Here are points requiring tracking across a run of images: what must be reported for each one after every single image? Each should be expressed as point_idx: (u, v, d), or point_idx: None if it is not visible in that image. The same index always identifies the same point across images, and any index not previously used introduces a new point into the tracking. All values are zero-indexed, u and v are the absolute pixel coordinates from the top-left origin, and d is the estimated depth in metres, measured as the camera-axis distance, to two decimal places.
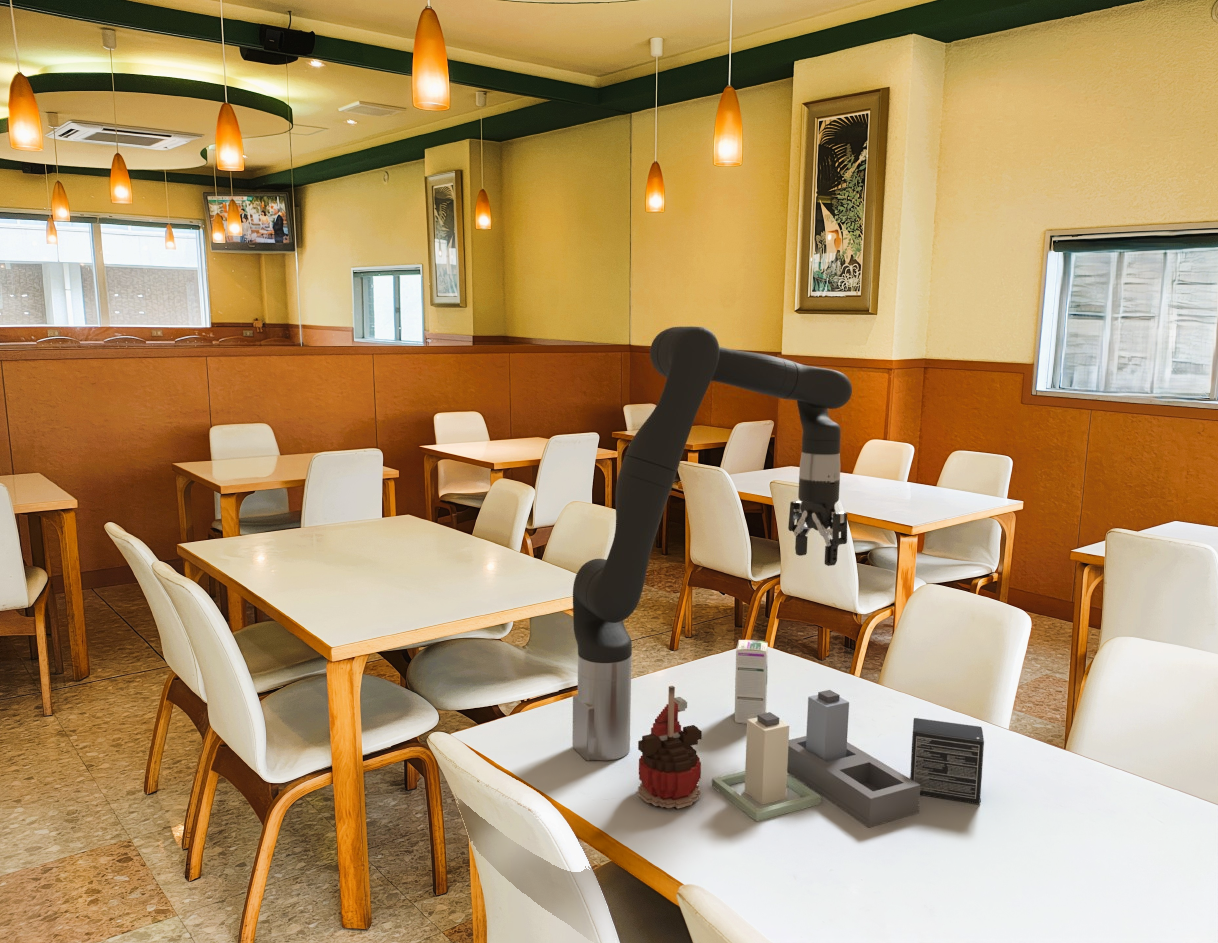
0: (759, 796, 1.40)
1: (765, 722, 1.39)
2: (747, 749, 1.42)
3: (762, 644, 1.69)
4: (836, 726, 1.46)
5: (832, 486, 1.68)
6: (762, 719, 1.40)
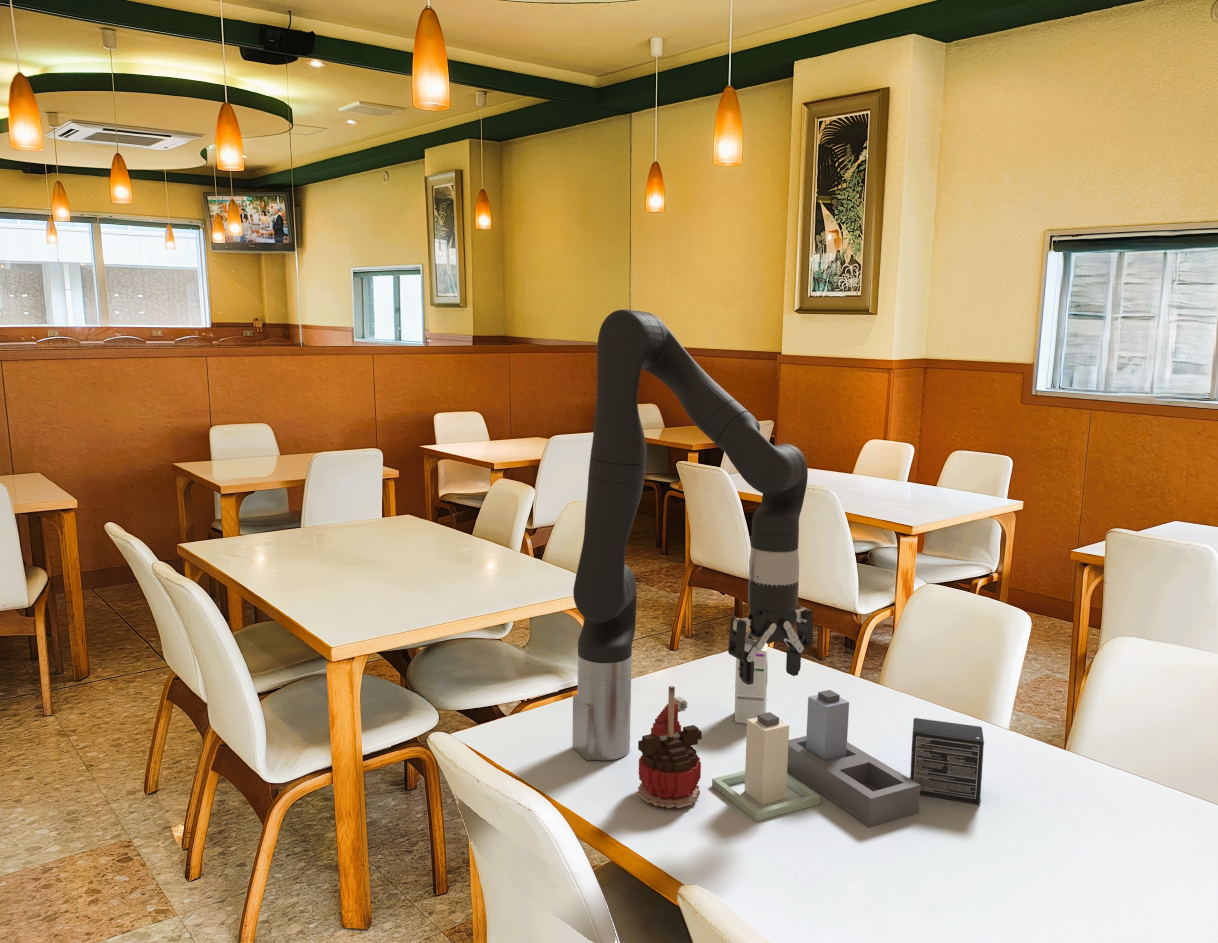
0: (759, 796, 1.40)
1: (765, 722, 1.39)
2: (747, 749, 1.42)
3: None
4: (836, 726, 1.46)
5: None
6: (762, 719, 1.40)
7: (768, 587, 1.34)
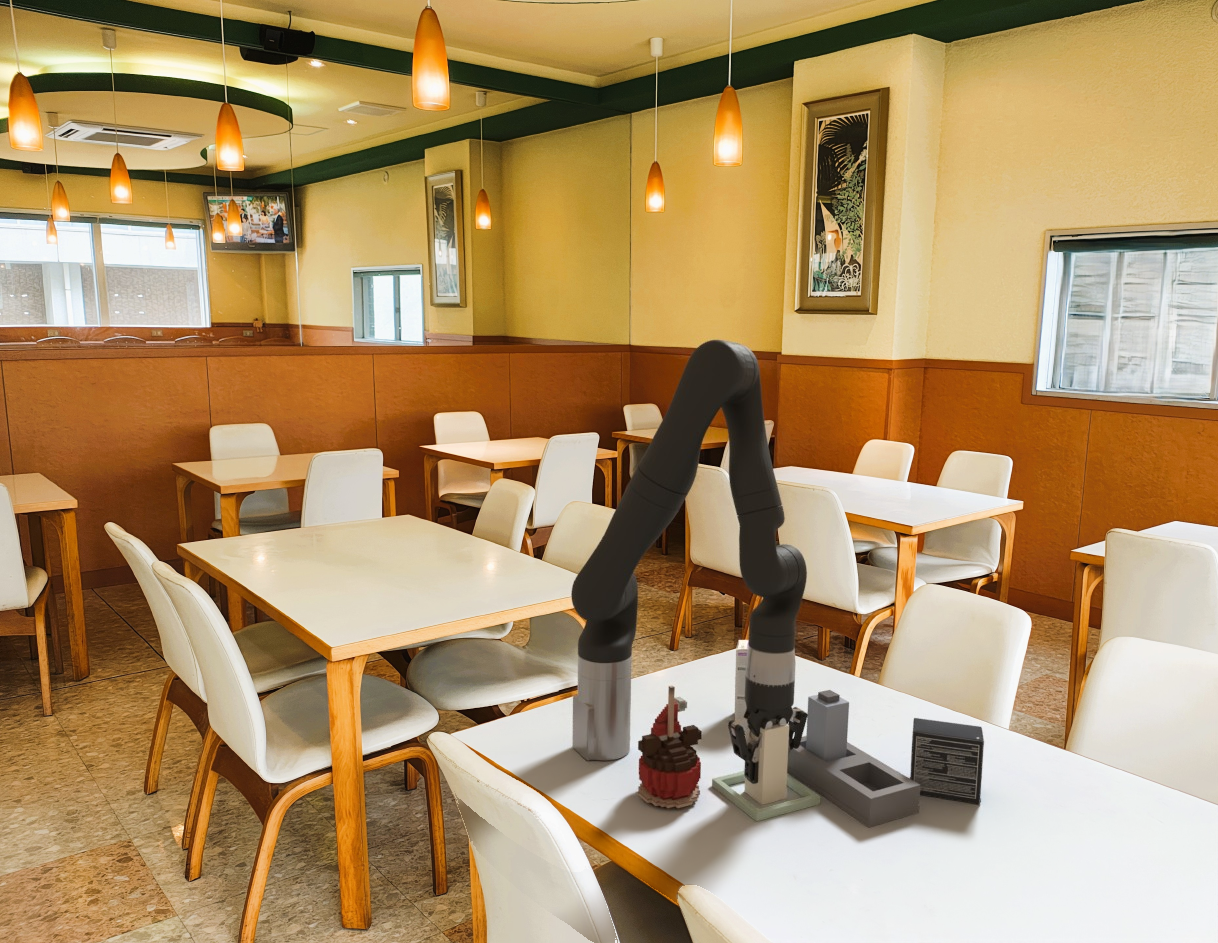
0: (759, 796, 1.40)
1: None
2: None
3: None
4: (836, 726, 1.46)
5: None
6: None
7: (764, 687, 1.36)
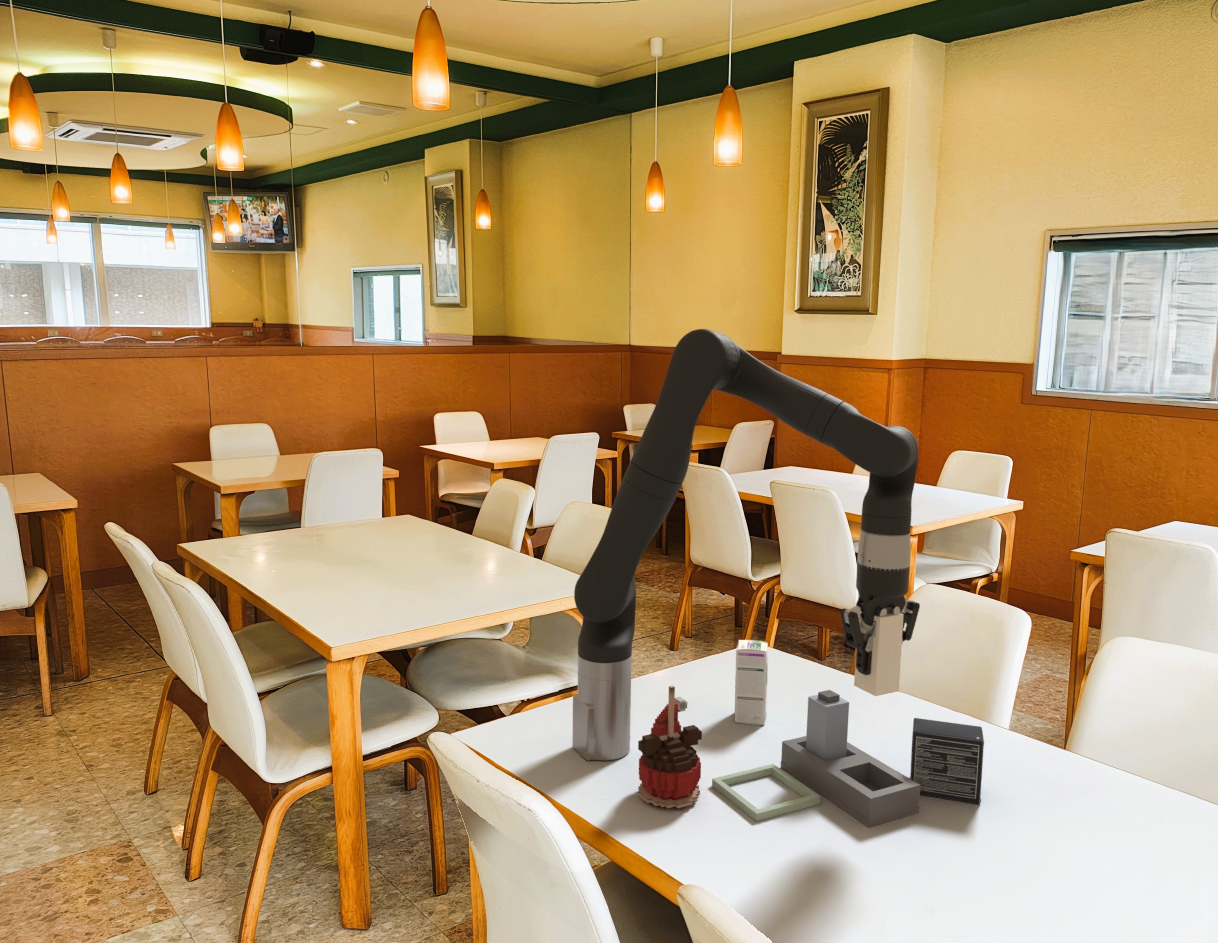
0: (872, 688, 1.34)
1: None
2: None
3: (762, 644, 1.69)
4: (836, 726, 1.46)
5: None
6: None
7: (881, 571, 1.31)
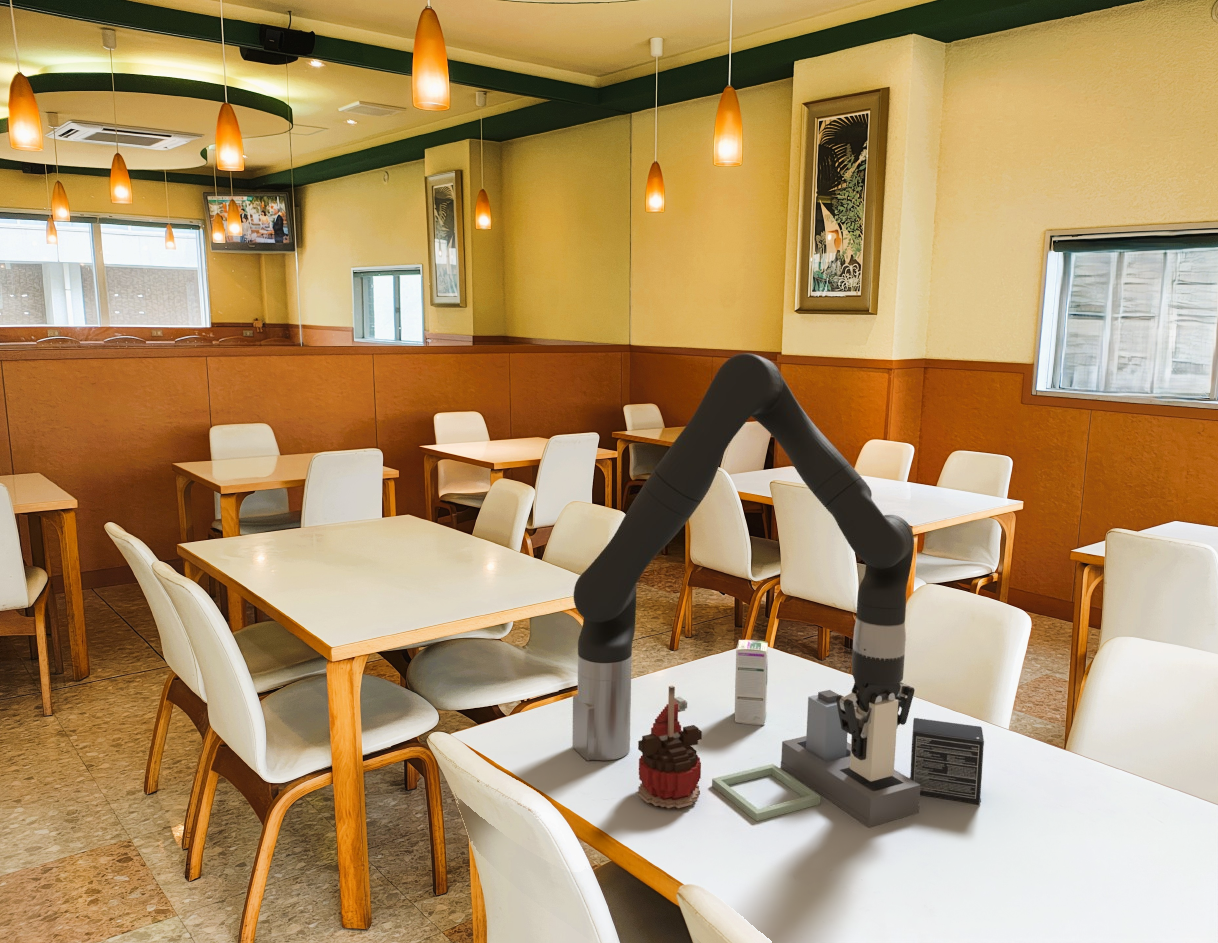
0: (868, 773, 1.36)
1: None
2: None
3: (763, 644, 1.69)
4: (836, 726, 1.46)
5: None
6: None
7: (876, 660, 1.33)
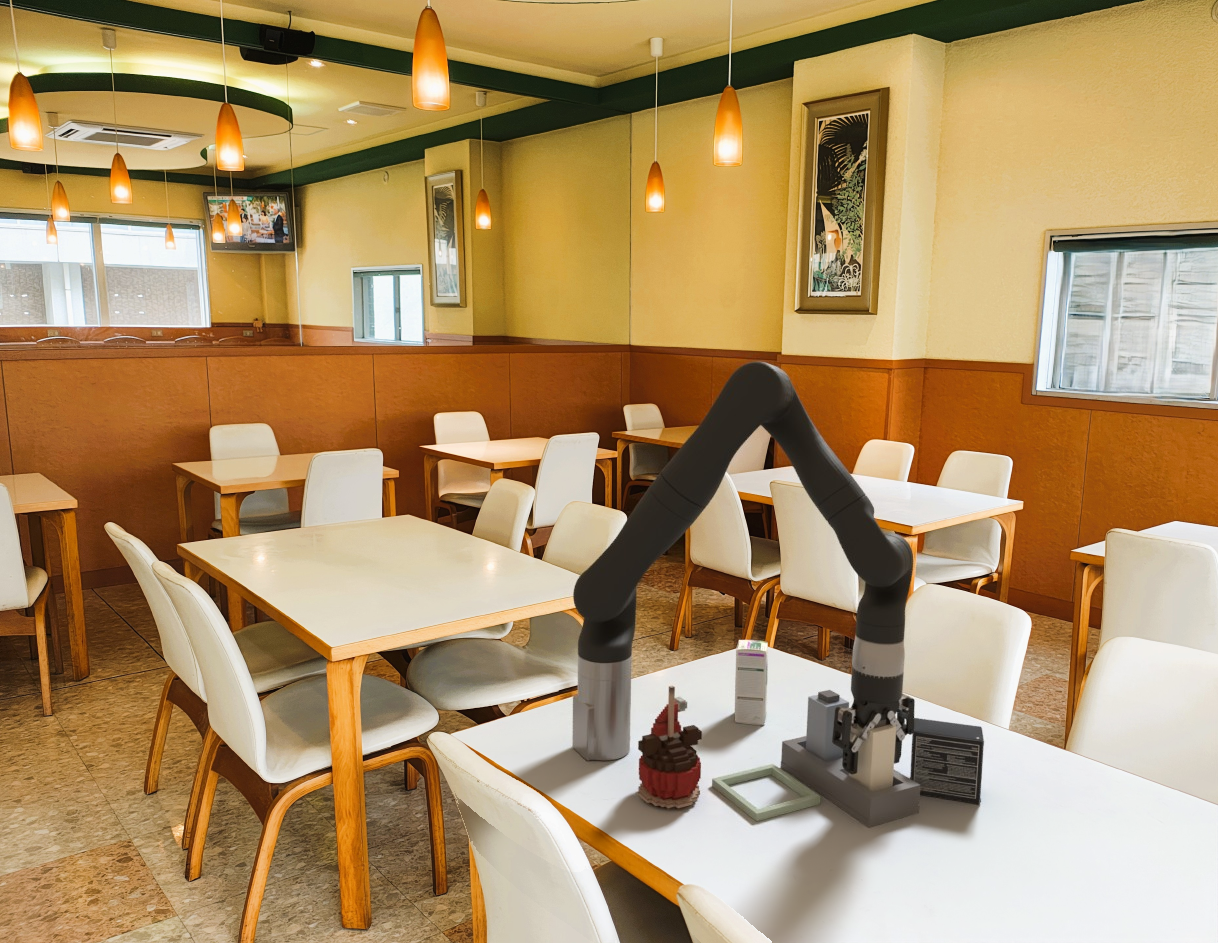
0: None
1: None
2: None
3: (762, 644, 1.69)
4: None
5: None
6: None
7: (875, 678, 1.33)
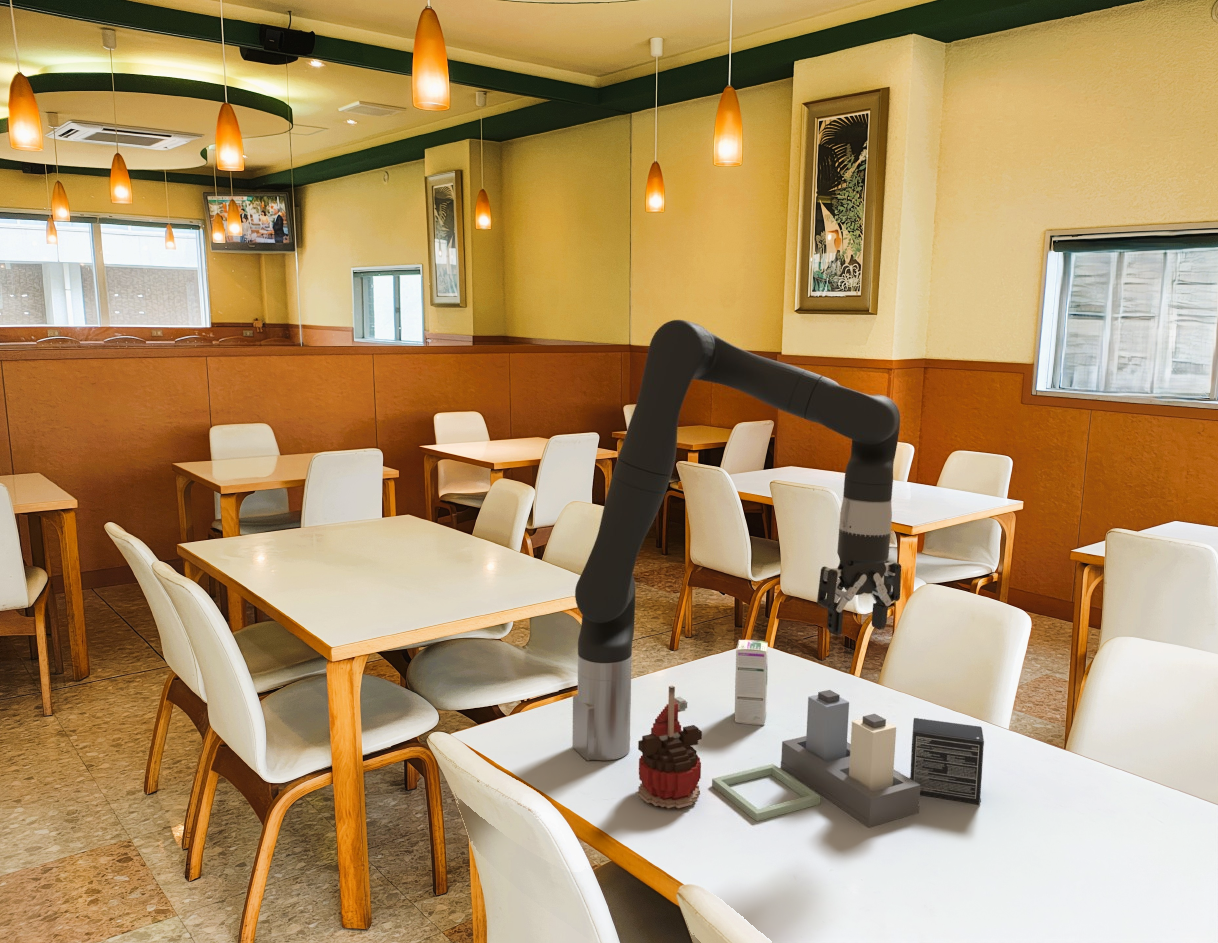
0: None
1: (872, 724, 1.37)
2: (851, 751, 1.39)
3: (762, 644, 1.69)
4: (836, 726, 1.46)
5: None
6: (868, 721, 1.37)
7: (861, 537, 1.33)
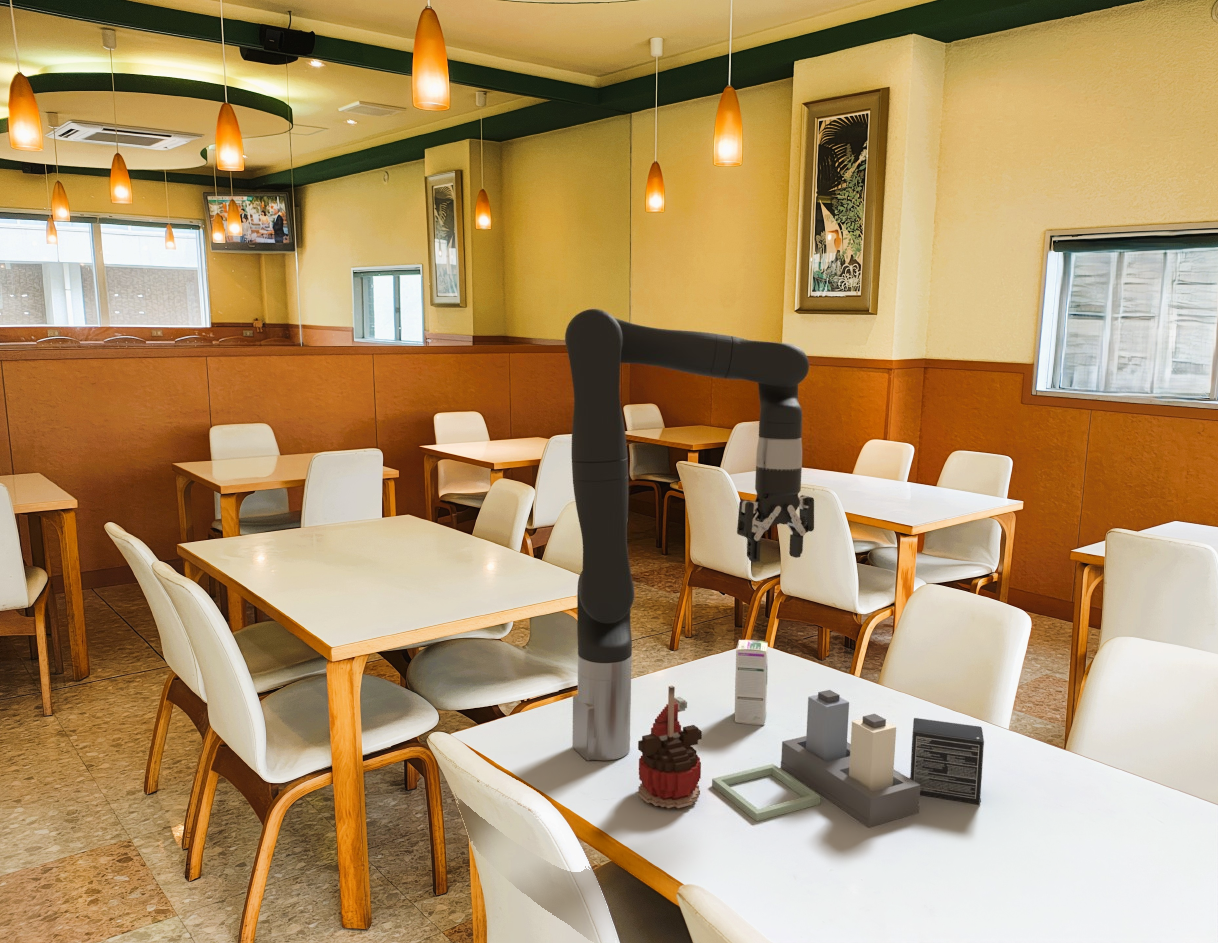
0: None
1: (872, 724, 1.37)
2: (851, 751, 1.39)
3: (762, 644, 1.69)
4: (836, 726, 1.46)
5: None
6: (868, 721, 1.37)
7: (774, 471, 1.48)
